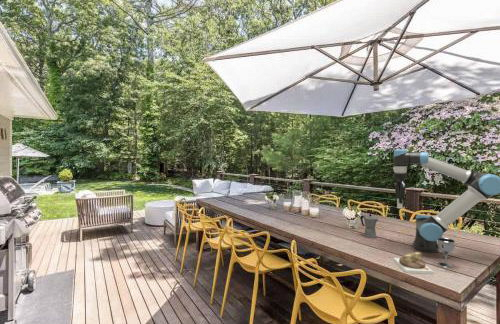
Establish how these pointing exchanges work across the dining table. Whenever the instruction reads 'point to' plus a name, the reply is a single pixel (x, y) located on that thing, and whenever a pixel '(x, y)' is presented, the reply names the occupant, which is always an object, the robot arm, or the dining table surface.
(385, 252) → the dining table surface
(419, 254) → the capstan dial
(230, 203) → the dining table surface
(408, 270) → the base plate
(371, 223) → the coffeepot
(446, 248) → the wine glass
